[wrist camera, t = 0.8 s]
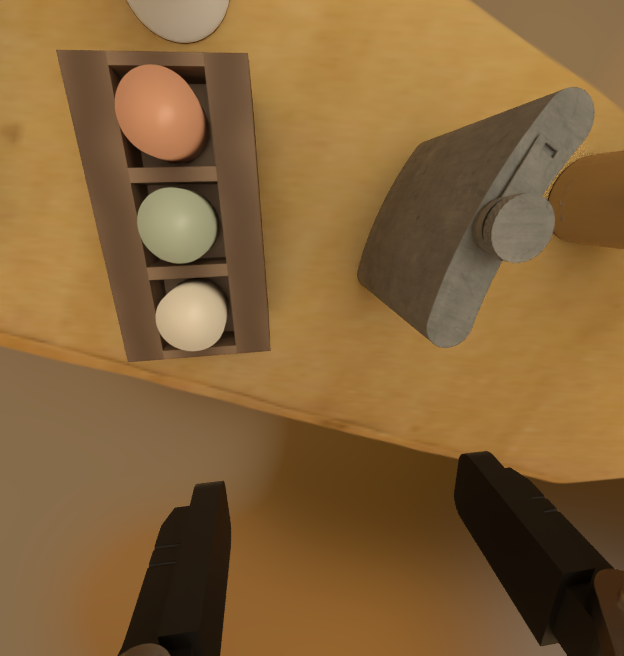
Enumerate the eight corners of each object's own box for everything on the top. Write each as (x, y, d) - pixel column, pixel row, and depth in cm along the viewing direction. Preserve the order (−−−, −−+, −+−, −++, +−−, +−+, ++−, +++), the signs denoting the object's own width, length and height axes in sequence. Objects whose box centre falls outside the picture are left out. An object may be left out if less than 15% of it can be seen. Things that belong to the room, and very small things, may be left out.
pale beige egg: (225, 276, 28) (220, 285, 25) (232, 332, 29) (228, 348, 26) (163, 279, 27) (149, 289, 24) (173, 336, 29) (162, 353, 26)
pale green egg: (215, 188, 26) (208, 186, 22) (223, 254, 27) (217, 261, 24) (147, 190, 25) (130, 188, 22) (159, 257, 27) (145, 265, 23)
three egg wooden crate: (252, 101, 32) (247, 53, 22) (268, 311, 39) (270, 350, 28) (125, 101, 31) (56, 49, 20) (165, 318, 37) (128, 362, 27)
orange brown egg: (203, 84, 23) (194, 64, 20) (212, 163, 25) (205, 157, 22) (128, 83, 23) (106, 63, 20) (142, 164, 24) (124, 158, 21)
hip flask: (377, 291, 40) (479, 371, 21) (345, 278, 39) (423, 349, 20) (448, 150, 35) (654, 91, 17) (414, 130, 34) (594, 45, 16)
